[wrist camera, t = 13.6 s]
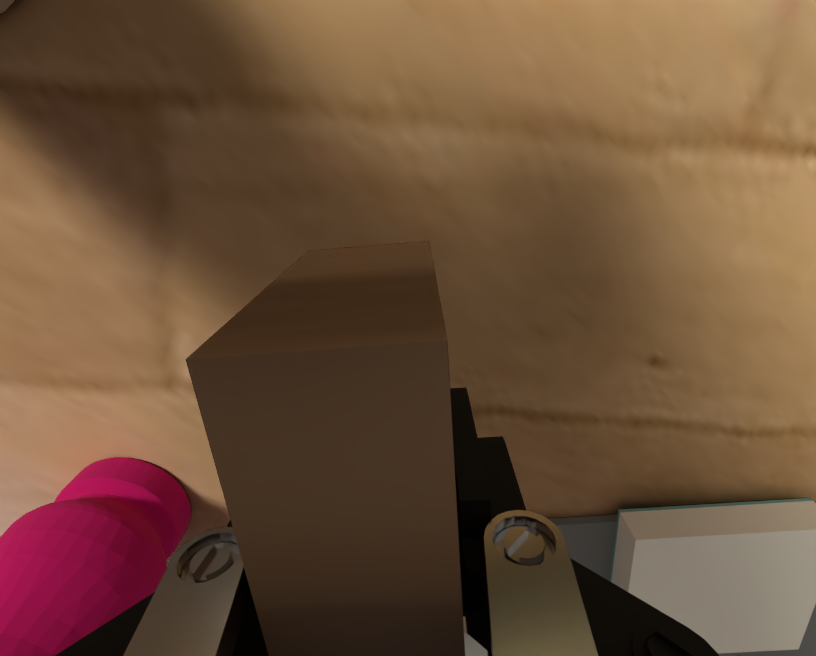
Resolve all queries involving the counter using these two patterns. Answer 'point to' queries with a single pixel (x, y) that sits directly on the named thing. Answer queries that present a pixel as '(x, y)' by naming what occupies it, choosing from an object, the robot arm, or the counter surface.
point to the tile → (724, 569)
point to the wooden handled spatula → (341, 455)
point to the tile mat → (594, 551)
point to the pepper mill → (87, 554)
